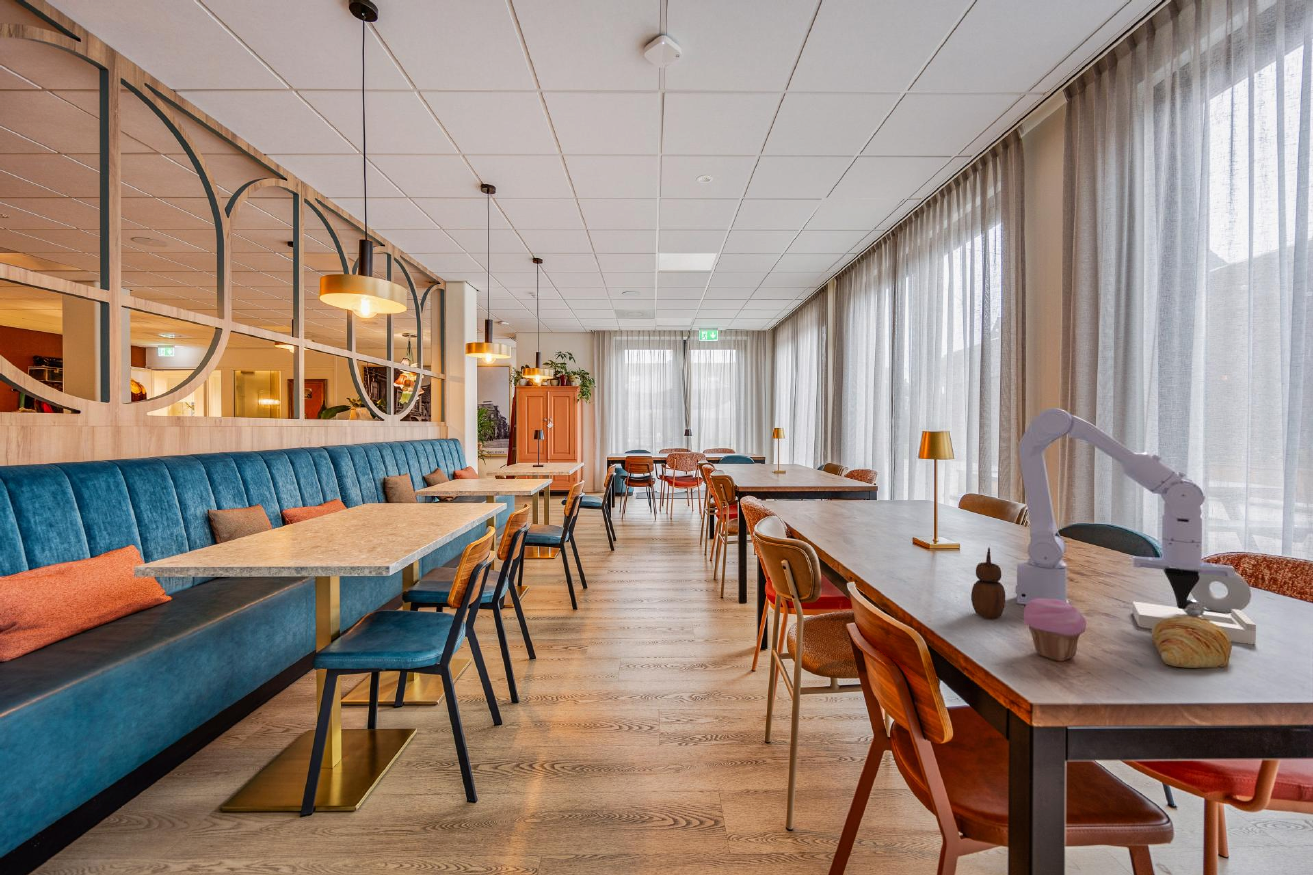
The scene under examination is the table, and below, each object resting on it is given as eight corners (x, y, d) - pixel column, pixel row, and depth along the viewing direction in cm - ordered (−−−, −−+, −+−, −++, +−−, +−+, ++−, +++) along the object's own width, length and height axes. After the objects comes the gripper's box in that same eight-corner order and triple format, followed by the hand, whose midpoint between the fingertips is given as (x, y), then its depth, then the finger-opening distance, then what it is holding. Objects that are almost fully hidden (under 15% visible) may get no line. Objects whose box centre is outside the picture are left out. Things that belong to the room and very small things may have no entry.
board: (1139, 626, 109) (1139, 608, 109) (1132, 612, 117) (1132, 595, 117) (1255, 644, 99) (1255, 624, 99) (1239, 628, 107) (1240, 609, 107)
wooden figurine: (998, 623, 111) (998, 550, 110) (967, 616, 115) (967, 545, 115) (1009, 616, 115) (1009, 545, 115) (979, 609, 119) (979, 541, 119)
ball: (1193, 598, 106) (1211, 610, 105) (1189, 594, 109) (1206, 606, 108) (1179, 609, 108) (1196, 621, 106) (1175, 604, 110) (1192, 616, 109)
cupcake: (1068, 671, 89) (1069, 610, 89) (1012, 652, 97) (1013, 596, 96) (1095, 659, 93) (1095, 601, 93) (1039, 642, 101) (1040, 589, 101)
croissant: (1193, 698, 87) (1226, 663, 84) (1123, 650, 94) (1151, 616, 91) (1229, 664, 98) (1260, 631, 95) (1164, 623, 106) (1190, 592, 102)
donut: (1254, 618, 113) (1255, 570, 113) (1245, 620, 112) (1245, 572, 111) (1193, 604, 122) (1193, 560, 122) (1184, 606, 121) (1184, 561, 121)
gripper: (1135, 538, 109) (1135, 606, 110) (1239, 547, 101) (1238, 620, 101) (1131, 533, 115) (1130, 597, 115) (1229, 541, 107) (1228, 610, 107)
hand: (1180, 607), depth 109 cm, fingers closed, pressing on ball
